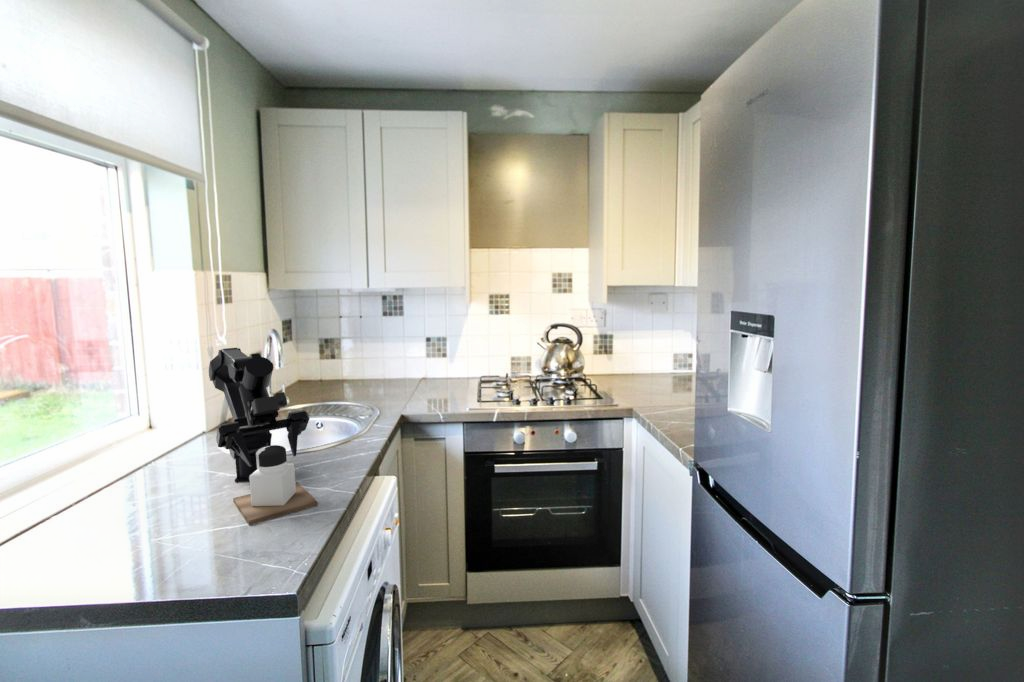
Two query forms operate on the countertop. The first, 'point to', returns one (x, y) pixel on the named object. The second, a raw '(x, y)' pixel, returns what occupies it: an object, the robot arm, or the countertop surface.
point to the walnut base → (264, 513)
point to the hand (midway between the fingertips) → (273, 460)
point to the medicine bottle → (272, 478)
